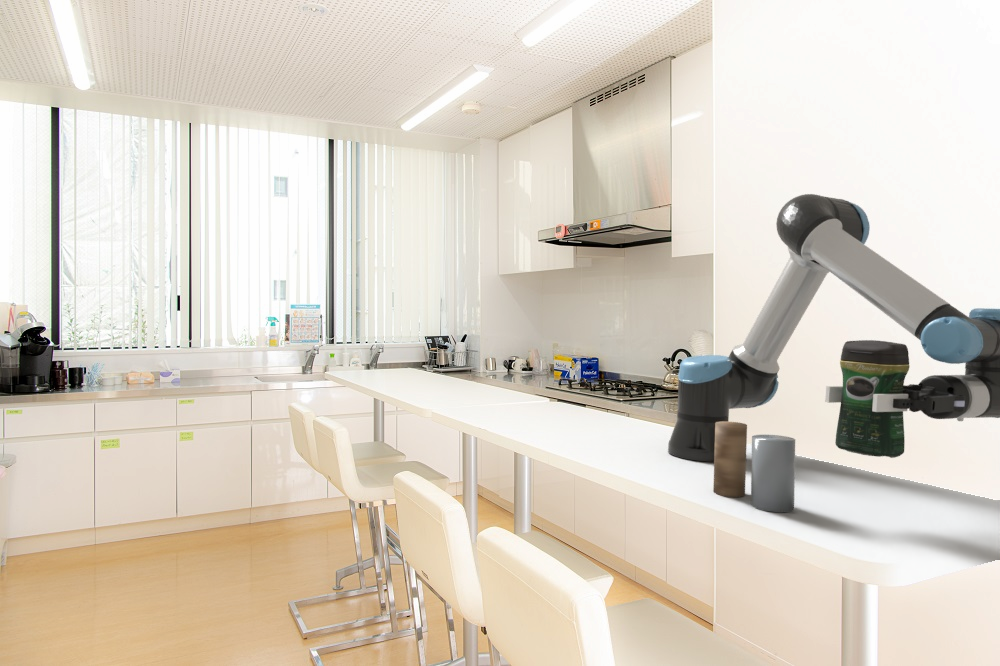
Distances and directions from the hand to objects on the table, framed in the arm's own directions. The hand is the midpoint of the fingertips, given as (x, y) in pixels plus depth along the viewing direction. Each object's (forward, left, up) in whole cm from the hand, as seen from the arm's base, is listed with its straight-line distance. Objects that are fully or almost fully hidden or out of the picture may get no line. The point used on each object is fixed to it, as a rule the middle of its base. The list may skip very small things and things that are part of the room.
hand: (850, 398), depth 106 cm
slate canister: (-10, -5, -20) cm, 23 cm away
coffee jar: (0, +5, -9) cm, 10 cm away
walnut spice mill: (-19, -7, -20) cm, 29 cm away
